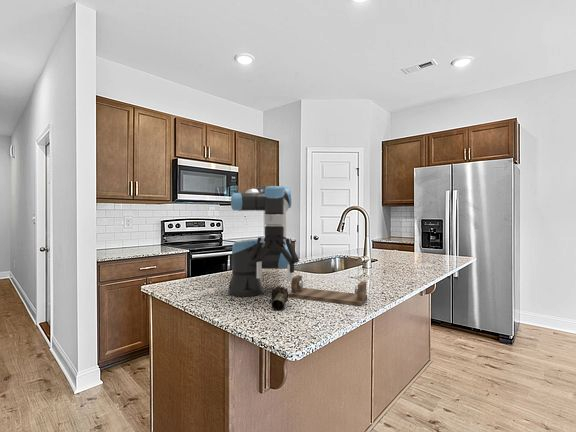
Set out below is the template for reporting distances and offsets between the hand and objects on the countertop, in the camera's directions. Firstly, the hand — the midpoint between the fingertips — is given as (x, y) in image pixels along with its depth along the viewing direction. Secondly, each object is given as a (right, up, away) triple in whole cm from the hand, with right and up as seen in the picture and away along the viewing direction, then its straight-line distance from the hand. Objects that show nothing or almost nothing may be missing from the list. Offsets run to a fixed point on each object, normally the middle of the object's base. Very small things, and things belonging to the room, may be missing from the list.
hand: (274, 279), depth 128 cm
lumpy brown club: (+2, -10, 0) cm, 10 cm away
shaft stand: (+22, -9, +8) cm, 25 cm away
